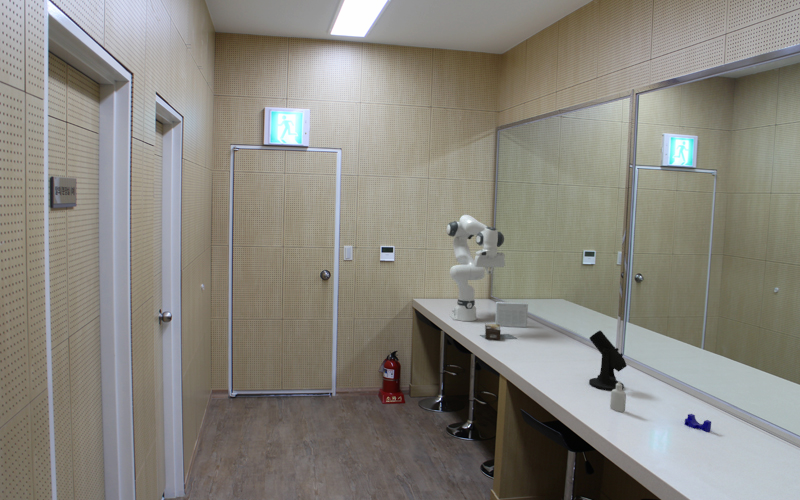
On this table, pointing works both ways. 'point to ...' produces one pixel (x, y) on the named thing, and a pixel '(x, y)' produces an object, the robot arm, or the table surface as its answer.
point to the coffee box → (492, 331)
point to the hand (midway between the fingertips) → (489, 273)
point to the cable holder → (694, 424)
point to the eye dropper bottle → (618, 398)
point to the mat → (502, 336)
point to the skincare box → (511, 314)
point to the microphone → (607, 363)
